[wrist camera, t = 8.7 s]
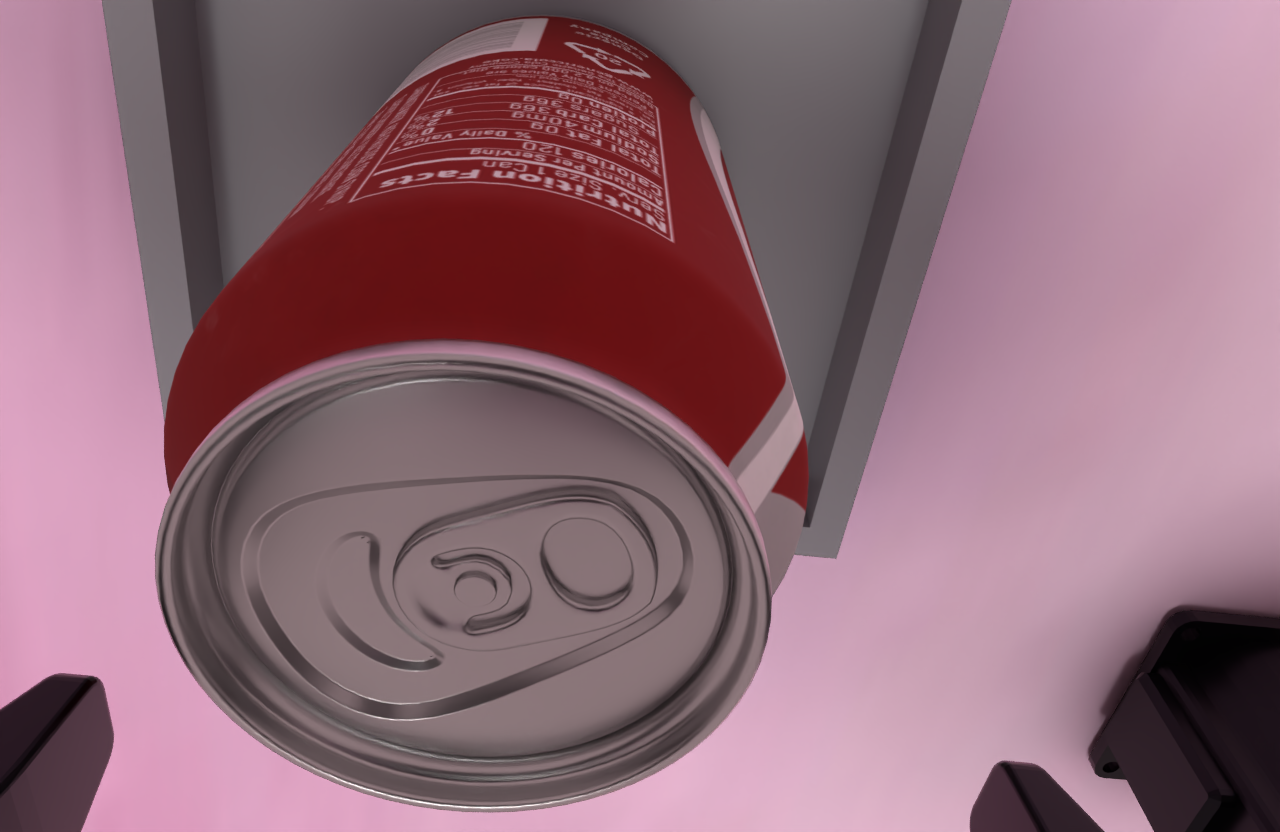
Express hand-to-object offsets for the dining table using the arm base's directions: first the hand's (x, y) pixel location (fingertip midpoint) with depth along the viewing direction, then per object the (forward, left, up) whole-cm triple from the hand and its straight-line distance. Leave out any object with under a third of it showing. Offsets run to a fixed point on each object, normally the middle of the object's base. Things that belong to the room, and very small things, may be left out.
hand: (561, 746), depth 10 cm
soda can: (+1, -2, -12) cm, 12 cm away
